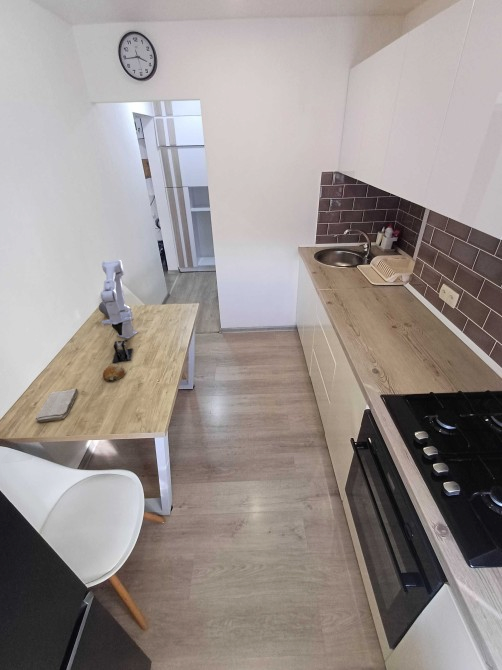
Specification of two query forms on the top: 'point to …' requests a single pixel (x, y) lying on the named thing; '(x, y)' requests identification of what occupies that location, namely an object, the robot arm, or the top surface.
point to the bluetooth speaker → (104, 309)
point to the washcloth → (57, 405)
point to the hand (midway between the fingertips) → (120, 334)
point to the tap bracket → (122, 353)
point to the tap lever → (120, 344)
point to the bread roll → (113, 372)
